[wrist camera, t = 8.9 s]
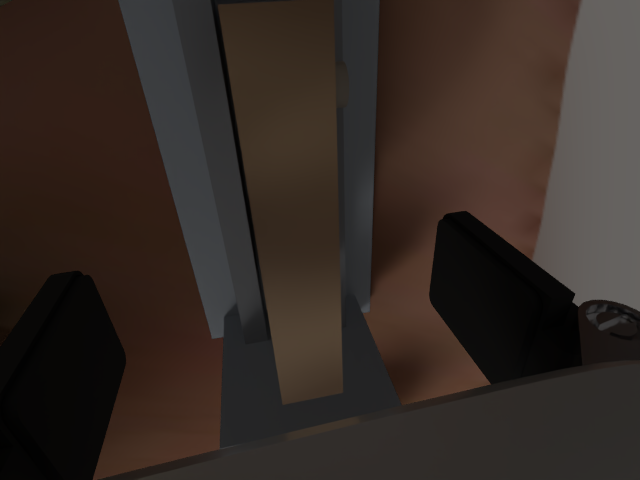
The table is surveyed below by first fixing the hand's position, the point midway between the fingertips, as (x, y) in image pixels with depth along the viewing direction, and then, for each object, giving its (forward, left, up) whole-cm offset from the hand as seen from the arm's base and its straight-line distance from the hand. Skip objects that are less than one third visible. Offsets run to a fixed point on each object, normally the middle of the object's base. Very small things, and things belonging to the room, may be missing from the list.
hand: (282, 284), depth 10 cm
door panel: (+1, -1, -9) cm, 9 cm away
